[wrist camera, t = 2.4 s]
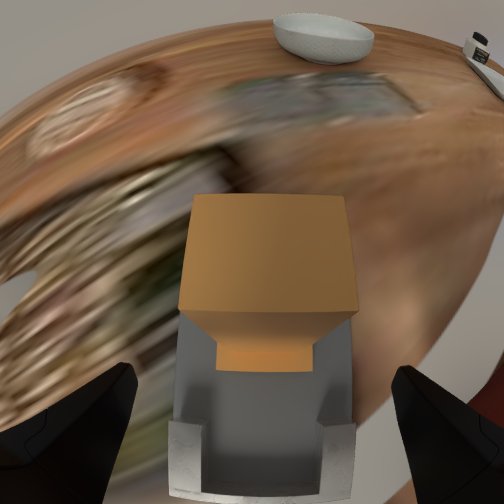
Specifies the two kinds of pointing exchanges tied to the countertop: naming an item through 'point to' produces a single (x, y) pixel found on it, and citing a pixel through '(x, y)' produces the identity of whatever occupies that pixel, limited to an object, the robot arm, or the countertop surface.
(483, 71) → the salad plate
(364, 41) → the cereal bowl
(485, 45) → the medicine bottle
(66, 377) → the countertop surface
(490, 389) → the plant pot
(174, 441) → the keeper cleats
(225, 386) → the board
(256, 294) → the brown boxy piece
